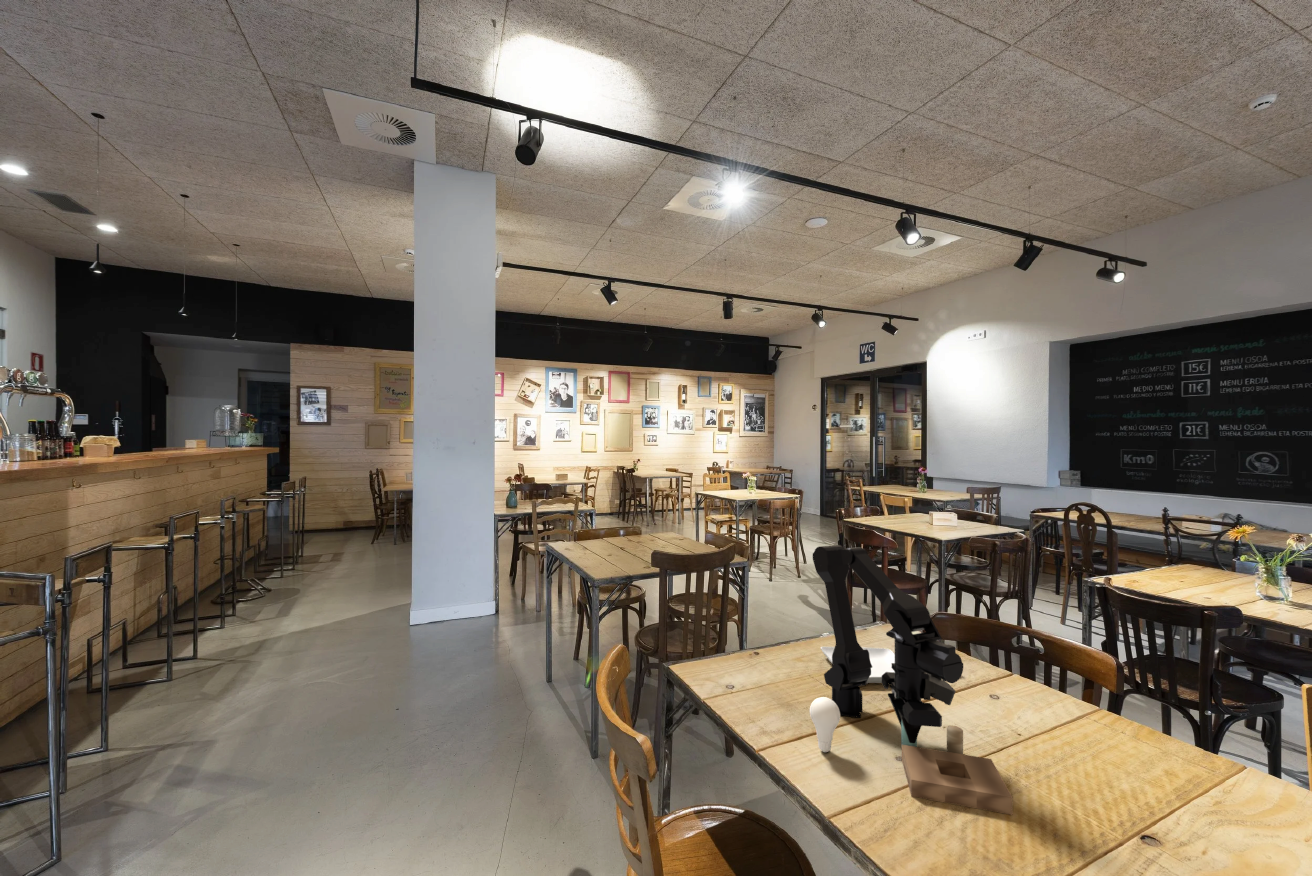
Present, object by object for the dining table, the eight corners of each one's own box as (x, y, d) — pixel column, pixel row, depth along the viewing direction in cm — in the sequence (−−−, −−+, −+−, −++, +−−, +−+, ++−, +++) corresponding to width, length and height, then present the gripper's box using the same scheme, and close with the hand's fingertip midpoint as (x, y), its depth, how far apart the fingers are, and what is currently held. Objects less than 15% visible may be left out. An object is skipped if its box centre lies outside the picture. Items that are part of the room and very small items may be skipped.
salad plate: (922, 690, 140) (922, 677, 140) (842, 689, 141) (842, 675, 141) (888, 658, 162) (888, 647, 162) (818, 657, 162) (819, 646, 162)
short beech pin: (948, 755, 110) (948, 731, 110) (945, 748, 113) (945, 724, 113) (964, 758, 109) (964, 733, 109) (961, 750, 112) (961, 726, 112)
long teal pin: (902, 753, 110) (902, 714, 111) (900, 745, 113) (900, 707, 113) (918, 755, 110) (918, 716, 110) (915, 748, 112) (915, 710, 113)
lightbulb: (840, 746, 113) (840, 694, 113) (840, 762, 107) (840, 707, 107) (810, 741, 115) (810, 689, 115) (808, 756, 109) (808, 702, 109)
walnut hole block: (911, 796, 97) (911, 779, 97) (901, 759, 108) (901, 744, 108) (1012, 814, 92) (1012, 797, 92) (991, 774, 103) (991, 758, 104)
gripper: (970, 685, 101) (970, 768, 101) (932, 649, 120) (932, 718, 120) (909, 681, 103) (909, 763, 103) (881, 646, 121) (880, 715, 121)
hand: (909, 738), depth 111 cm, fingers closed on long teal pin, 3 cm apart
